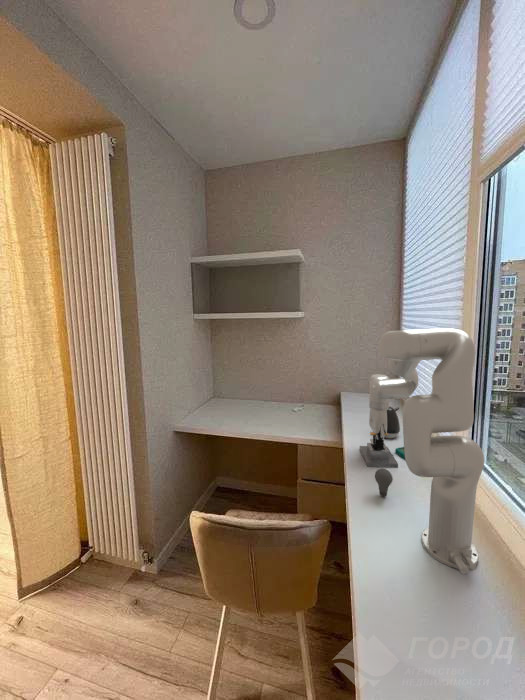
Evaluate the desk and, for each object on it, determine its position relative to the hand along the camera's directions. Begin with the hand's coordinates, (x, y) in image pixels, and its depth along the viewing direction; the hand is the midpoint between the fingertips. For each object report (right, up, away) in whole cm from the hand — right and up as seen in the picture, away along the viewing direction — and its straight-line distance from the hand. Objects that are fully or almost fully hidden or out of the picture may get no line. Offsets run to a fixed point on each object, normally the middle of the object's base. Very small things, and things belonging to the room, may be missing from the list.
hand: (378, 445), depth 118 cm
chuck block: (0, -6, +2) cm, 6 cm away
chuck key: (0, -3, 0) cm, 3 cm away
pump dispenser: (+14, -2, +21) cm, 25 cm away
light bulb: (-8, -10, -23) cm, 26 cm away
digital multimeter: (+17, -5, +3) cm, 18 cm away
